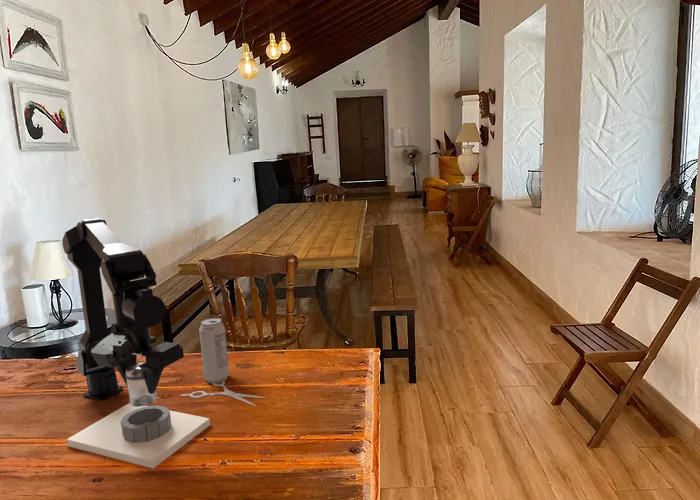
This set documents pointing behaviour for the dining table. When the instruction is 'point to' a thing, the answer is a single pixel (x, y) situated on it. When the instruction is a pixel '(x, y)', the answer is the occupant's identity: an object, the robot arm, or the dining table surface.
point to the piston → (138, 386)
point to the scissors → (226, 392)
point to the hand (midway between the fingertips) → (142, 391)
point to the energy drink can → (214, 350)
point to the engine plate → (137, 451)
